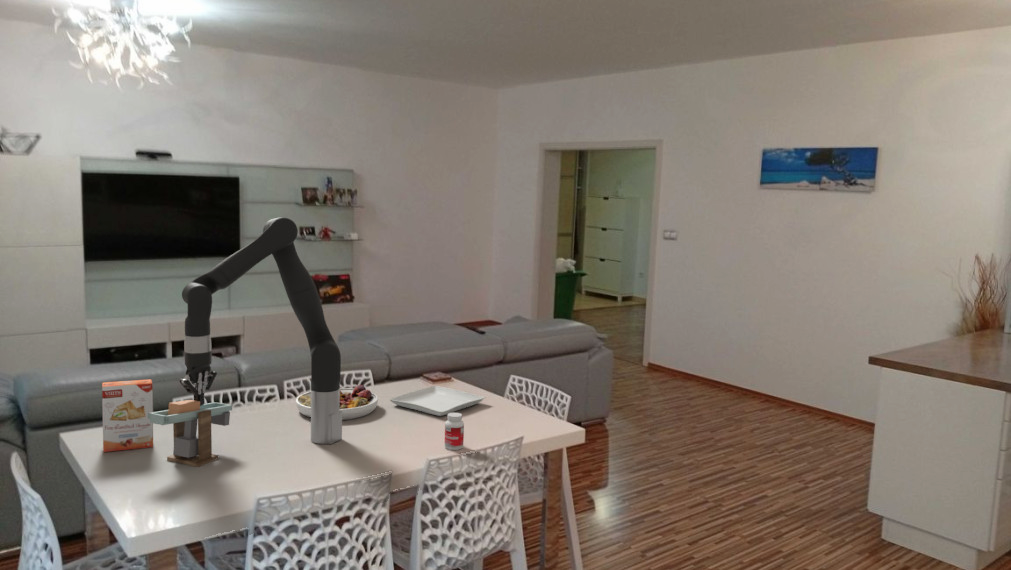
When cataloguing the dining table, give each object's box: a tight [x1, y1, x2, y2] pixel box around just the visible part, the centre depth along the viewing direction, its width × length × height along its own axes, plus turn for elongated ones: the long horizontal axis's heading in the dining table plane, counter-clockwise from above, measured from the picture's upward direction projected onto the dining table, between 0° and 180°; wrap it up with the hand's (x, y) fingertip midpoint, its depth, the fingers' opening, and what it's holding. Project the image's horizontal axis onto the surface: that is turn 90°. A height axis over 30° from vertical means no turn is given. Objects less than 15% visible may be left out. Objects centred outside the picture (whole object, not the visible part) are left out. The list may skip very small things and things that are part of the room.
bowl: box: [295, 384, 379, 421], centre depth 277 cm, size 30×30×8 cm
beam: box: [148, 401, 233, 458], centre depth 220 cm, size 7×26×14 cm, turn 158°
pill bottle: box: [444, 412, 465, 451], centre depth 240 cm, size 6×6×11 cm
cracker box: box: [101, 378, 154, 453], centre depth 229 cm, size 14×6×21 cm, turn 118°
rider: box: [167, 399, 200, 415], centre depth 217 cm, size 4×8×4 cm, turn 158°
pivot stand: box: [166, 410, 219, 468], centre depth 221 cm, size 12×8×16 cm, turn 68°
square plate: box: [389, 385, 486, 417], centre depth 288 cm, size 27×27×4 cm
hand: (199, 405), depth 223 cm, fingers closed
